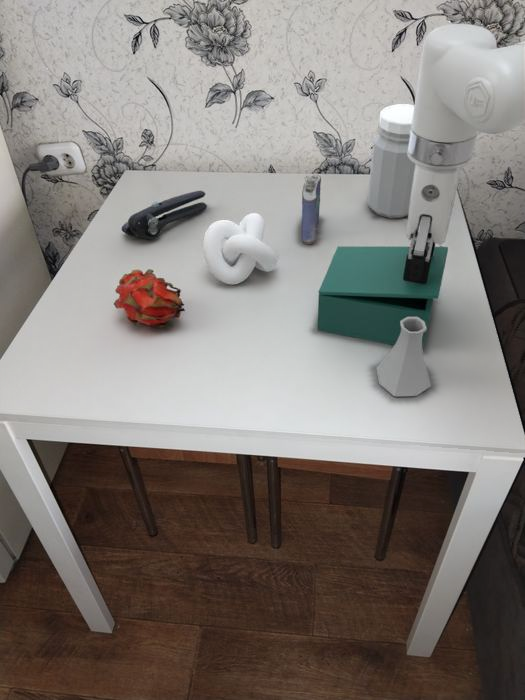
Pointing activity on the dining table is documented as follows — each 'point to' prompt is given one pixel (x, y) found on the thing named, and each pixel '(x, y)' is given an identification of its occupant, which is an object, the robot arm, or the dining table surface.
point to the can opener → (150, 226)
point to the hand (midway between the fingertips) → (418, 266)
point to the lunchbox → (370, 316)
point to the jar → (392, 163)
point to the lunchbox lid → (380, 273)
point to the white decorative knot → (237, 249)
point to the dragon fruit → (148, 299)
